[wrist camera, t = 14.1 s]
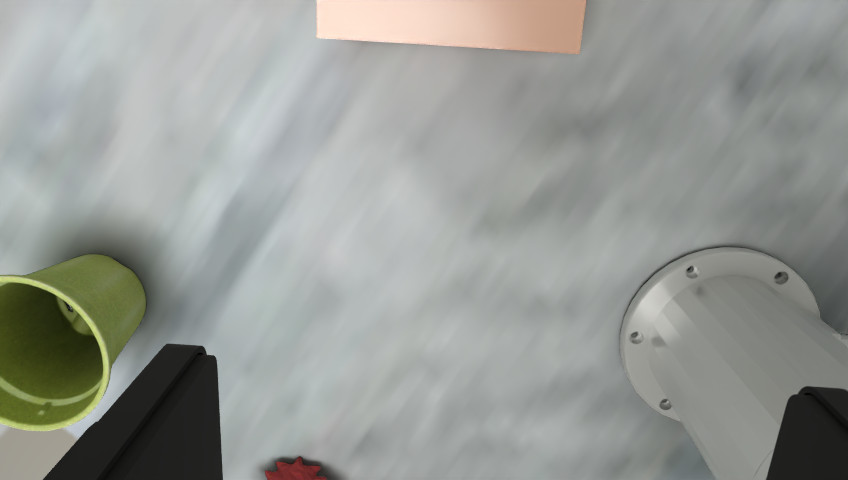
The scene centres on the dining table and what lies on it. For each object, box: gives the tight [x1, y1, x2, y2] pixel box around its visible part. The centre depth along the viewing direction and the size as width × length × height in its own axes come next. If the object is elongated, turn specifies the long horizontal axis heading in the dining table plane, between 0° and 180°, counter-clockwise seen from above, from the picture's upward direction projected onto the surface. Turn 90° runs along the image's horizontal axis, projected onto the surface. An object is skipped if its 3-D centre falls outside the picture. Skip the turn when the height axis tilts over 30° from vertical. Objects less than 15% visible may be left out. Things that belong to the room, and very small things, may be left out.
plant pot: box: [0, 254, 146, 431], centre depth 39 cm, size 9×9×9 cm
